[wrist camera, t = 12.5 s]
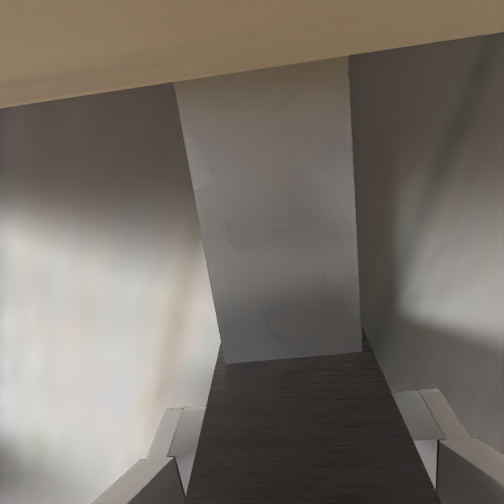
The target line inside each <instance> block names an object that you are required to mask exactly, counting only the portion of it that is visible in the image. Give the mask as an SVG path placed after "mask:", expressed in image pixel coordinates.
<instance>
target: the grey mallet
mask: <svg viewBox="0 0 504 504" xmlns="http://www.w3.org/2000/svg"><path fill="white" fill-rule="evenodd" d="M173 83H174V89H175V94H176V100H177V105H178V110H179V116H180V121H181V127H182V132H183V138H184V143H185V148H186V154H187V159H188V165H189V170H190V175H191V181H192V186H193V192H194V197H195V203H196V208H197V213H198V219H199V224H200V230H201V235H202V240H203V246H204V251H205V257H206V262H207V268H208V273H209V278H210V284H211V289H212V295H213V300H214V305H215V311H216V316H217V322H218V327H219V333H220V338H221V344H220V349H219V353H218V357H217V362H216V366H215V371H214V375H213V379H212V384H211V388H210V392H209V397H208V401H207V405H206V410H205V414H204V419H203V423H202V427H201V432H200V436H199V440H198V445H197V449H196V453H195V458H194V462H193V467H192V471H191V475H190V480H189V484H188V488H187V493H186V497H185V501H184V504H442V503H441V501H440V499H439V497H438V495H437V492H436V490H435V488H434V486H433V484H432V481H431V479H430V477H429V475H428V472H427V470H426V468H425V466H424V464H423V461H422V459H421V457H420V455H419V453H418V450H417V448H416V446H415V444H414V442H413V439H412V437H411V435H410V433H409V430H408V428H407V426H406V424H405V422H404V419H403V417H402V415H401V413H400V411H399V408H398V406H397V404H396V402H395V400H394V397H393V395H392V393H391V391H390V389H389V386H388V384H387V382H386V380H385V377H384V375H383V373H382V371H381V369H380V366H379V364H378V362H377V360H376V358H375V355H374V353H373V351H372V349H371V347H370V344H369V342H368V340H367V338H366V335H365V333H364V331H363V329H362V327H361V312H360V291H359V270H358V249H357V228H356V208H355V187H354V166H353V145H352V125H351V104H350V83H349V62H348V56H342V57H335V58H329V59H322V60H315V61H309V62H302V63H296V64H289V65H282V66H276V67H269V68H263V69H256V70H250V71H243V72H236V73H230V74H223V75H217V76H210V77H203V78H197V79H190V80H184V81H177V82H173Z"/></svg>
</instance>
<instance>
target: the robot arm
mask: <svg viewBox="0 0 504 504" xmlns="http://www.w3.org/2000/svg"><path fill="white" fill-rule="evenodd" d="M391 393H392V395H393V397H394V400H395V402H396V404H397V406H398V408H399V411H400V413H401V415H402V417H403V419H404V422H405V424H406V426H407V428H408V430H409V433H410V435H411V437H412V439H413V442H414V444H415V446H416V448H417V450H418V453H419V455H420V457H421V459H422V461H423V464H424V466H425V468H426V470H427V472H428V475H429V477H430V479H431V481H432V484H433V486H434V488H435V490H436V492H437V495H438V497H439V499H440V501H441V503H442V504H504V454H502V453H501V452H499V451H497V450H496V449H494V448H493V447H491V446H489V445H488V444H486V443H485V442H483V441H481V440H480V439H478V438H470V436H469V435H468V433H467V432H466V430H465V429H464V427H463V425H462V424H461V422H460V421H459V419H458V418H457V416H456V415H455V413H454V411H453V410H452V408H451V407H450V405H449V404H448V402H447V401H446V399H445V397H444V396H443V394H442V393H441V391H440V390H438V389H437V388H433V389H422V390H416V391H403V392H391ZM205 410H206V406H196V407H185V408H167V409H166V410H165V411H164V412H163V414H162V417H161V420H160V423H159V425H158V428H157V431H156V433H155V436H154V439H153V442H152V444H151V447H150V450H149V452H148V455H147V458H146V459H140V460H139V461H138V462H137V463H136V464H135V465H134V466H133V467H131V468H130V469H129V470H128V471H127V472H126V473H125V474H124V475H123V476H122V477H120V478H119V479H118V480H117V481H116V482H115V483H114V484H113V485H112V486H111V487H110V488H108V489H107V490H106V491H105V492H104V493H103V494H102V495H101V496H100V497H99V498H97V499H96V500H95V501H94V502H93V503H92V504H184V501H185V497H186V493H187V488H188V484H189V480H190V475H191V471H192V467H193V462H194V458H195V453H196V449H197V445H198V440H199V436H200V432H201V427H202V423H203V419H204V414H205Z"/></svg>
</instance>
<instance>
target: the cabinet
mask: <svg viewBox="0 0 504 504" xmlns="http://www.w3.org/2000/svg"><path fill="white" fill-rule="evenodd" d="M500 32H504V0H0V108H6V107H12V106H19V105H25V104H32V103H38V102H45V101H52V100H58V99H65V98H71V97H78V96H85V95H91V94H98V93H104V92H111V91H118V90H124V89H131V88H137V87H144V86H151V85H157V84H164V83H170V82H177V81H184V80H190V79H197V78H203V77H210V76H217V75H223V74H230V73H236V72H243V71H250V70H256V69H263V68H269V67H276V66H282V65H289V64H296V63H302V62H309V61H315V60H322V59H329V58H335V57H342V56H348V55H355V54H362V53H368V52H375V51H381V50H388V49H395V48H401V47H408V46H414V45H421V44H428V43H434V42H441V41H447V40H454V39H461V38H467V37H474V36H480V35H487V34H494V33H500Z"/></svg>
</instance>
